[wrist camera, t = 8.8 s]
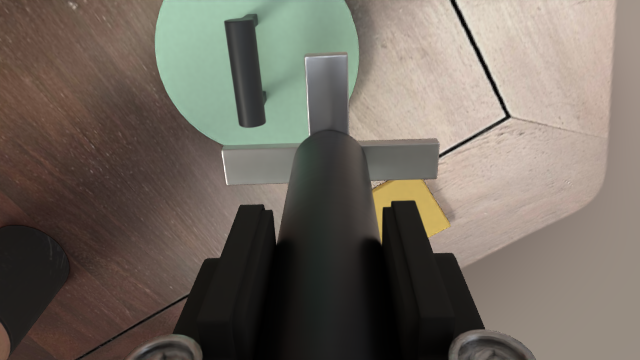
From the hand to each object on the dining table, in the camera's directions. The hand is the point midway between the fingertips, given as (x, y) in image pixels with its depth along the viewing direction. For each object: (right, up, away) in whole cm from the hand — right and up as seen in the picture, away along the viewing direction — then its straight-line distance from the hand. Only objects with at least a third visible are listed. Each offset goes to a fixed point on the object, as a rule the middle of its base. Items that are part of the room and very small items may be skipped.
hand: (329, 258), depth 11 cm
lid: (-4, +10, +20) cm, 23 cm away
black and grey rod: (0, +3, +5) cm, 6 cm away
